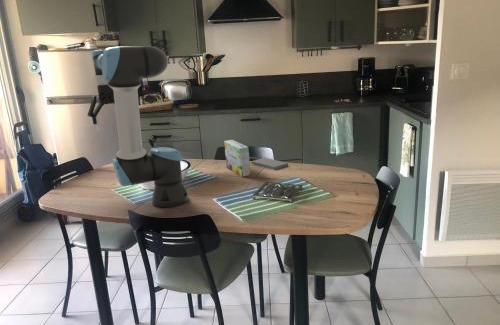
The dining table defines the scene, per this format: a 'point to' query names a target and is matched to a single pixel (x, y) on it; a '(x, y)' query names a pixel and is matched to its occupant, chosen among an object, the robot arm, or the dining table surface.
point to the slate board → (269, 163)
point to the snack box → (237, 158)
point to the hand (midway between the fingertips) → (111, 128)
